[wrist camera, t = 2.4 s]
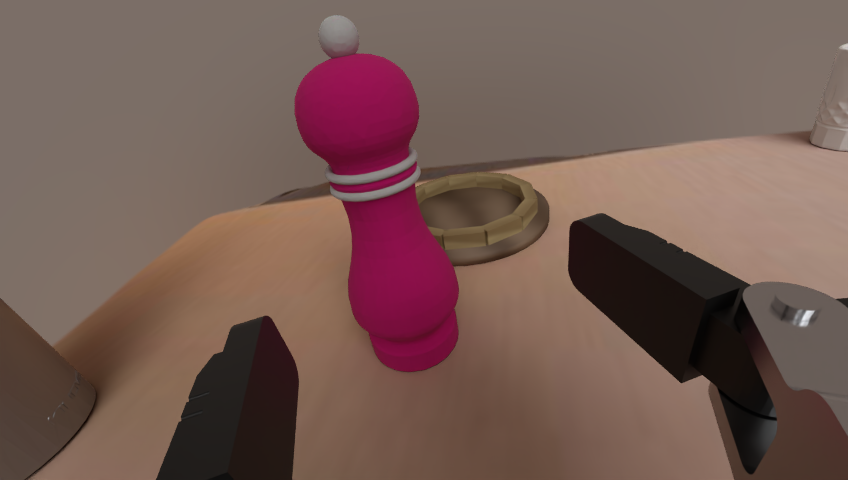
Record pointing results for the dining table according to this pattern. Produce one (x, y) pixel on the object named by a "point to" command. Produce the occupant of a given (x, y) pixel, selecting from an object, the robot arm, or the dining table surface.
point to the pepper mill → (379, 199)
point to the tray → (482, 215)
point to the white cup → (834, 107)
